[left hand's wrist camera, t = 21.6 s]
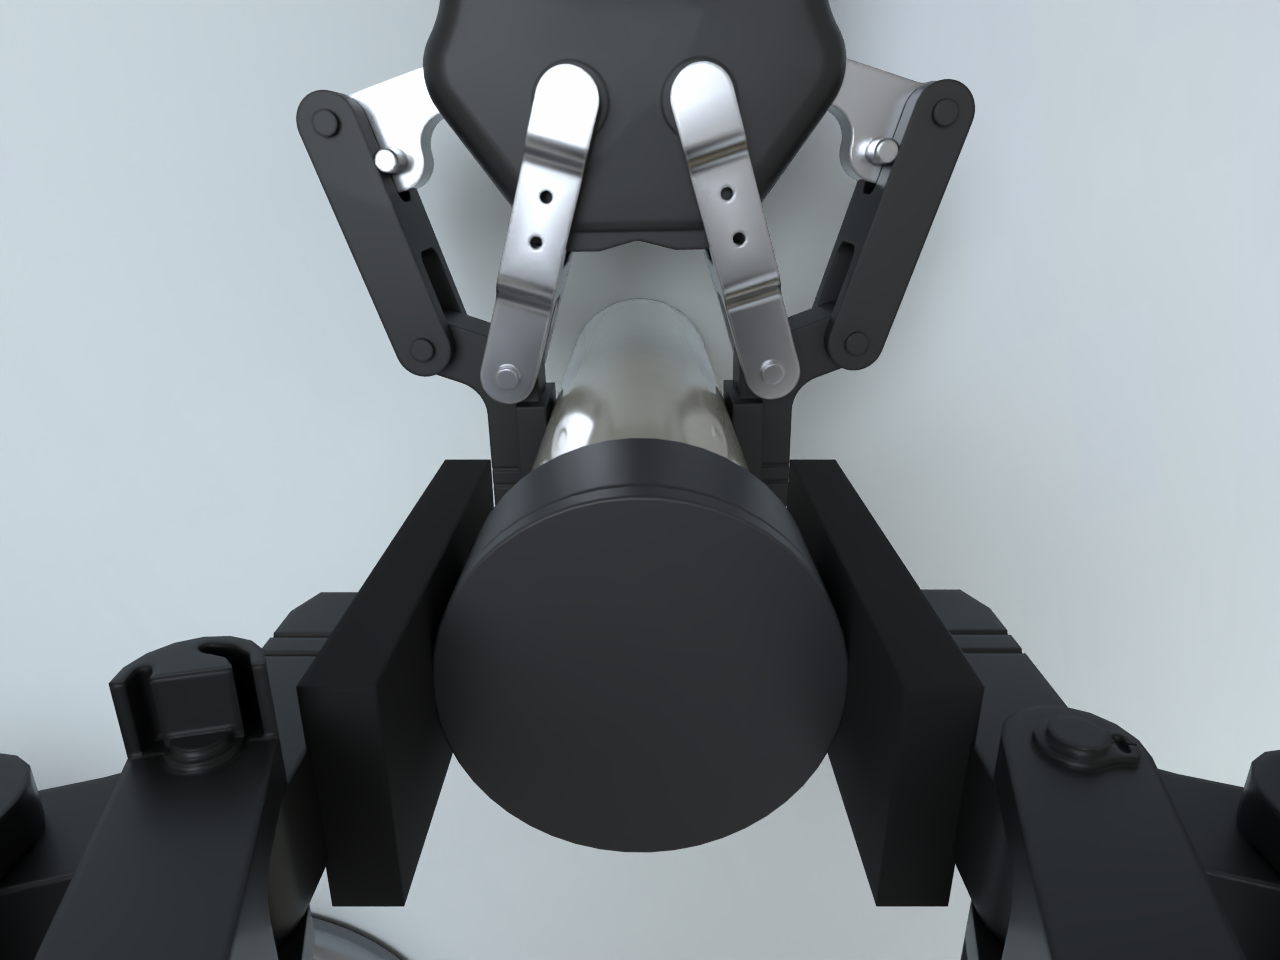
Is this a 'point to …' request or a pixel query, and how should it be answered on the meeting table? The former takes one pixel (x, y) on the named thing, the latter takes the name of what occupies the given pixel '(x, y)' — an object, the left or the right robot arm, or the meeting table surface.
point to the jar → (639, 385)
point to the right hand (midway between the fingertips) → (643, 533)
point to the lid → (640, 650)
